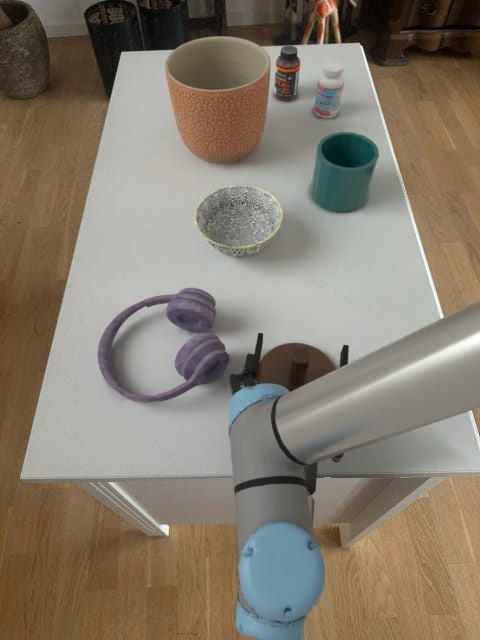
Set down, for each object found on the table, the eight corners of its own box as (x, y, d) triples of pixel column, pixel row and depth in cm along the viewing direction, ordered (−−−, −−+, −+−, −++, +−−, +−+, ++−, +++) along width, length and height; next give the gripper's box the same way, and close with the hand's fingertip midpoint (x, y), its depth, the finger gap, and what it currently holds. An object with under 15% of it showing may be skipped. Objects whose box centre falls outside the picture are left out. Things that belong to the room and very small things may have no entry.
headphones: (216, 295, 78) (108, 327, 79) (205, 267, 71) (87, 303, 72) (239, 388, 69) (116, 424, 69) (229, 366, 62) (92, 406, 62)
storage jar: (375, 205, 91) (389, 162, 82) (323, 218, 89) (331, 175, 81) (352, 170, 97) (362, 127, 88) (302, 181, 95) (308, 138, 87)
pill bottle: (308, 112, 109) (314, 65, 100) (324, 102, 112) (331, 55, 102) (327, 122, 107) (335, 75, 97) (343, 111, 109) (352, 65, 100)
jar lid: (350, 406, 67) (362, 382, 60) (271, 430, 66) (273, 408, 58) (318, 337, 74) (325, 308, 67) (245, 357, 72) (245, 330, 65)
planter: (283, 158, 100) (289, 73, 84) (198, 186, 95) (188, 102, 79) (243, 111, 110) (242, 27, 94) (165, 134, 105) (150, 50, 89)
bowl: (240, 288, 80) (239, 261, 74) (181, 244, 86) (176, 215, 80) (297, 241, 86) (300, 212, 80) (238, 202, 92) (237, 173, 86)
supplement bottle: (271, 100, 112) (273, 54, 103) (276, 88, 115) (278, 41, 106) (295, 103, 111) (299, 56, 102) (298, 90, 115) (303, 44, 105)
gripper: (193, 480, 60) (224, 344, 71) (376, 514, 57) (377, 366, 69) (187, 466, 53) (222, 318, 65) (391, 502, 51) (390, 342, 62)
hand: (302, 343), depth 67 cm, fingers open, 12 cm apart
